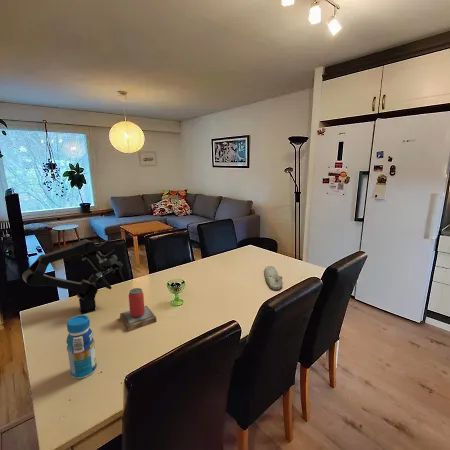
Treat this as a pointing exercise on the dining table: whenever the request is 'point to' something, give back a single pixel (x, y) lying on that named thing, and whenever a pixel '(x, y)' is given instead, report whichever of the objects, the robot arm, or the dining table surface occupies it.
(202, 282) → the dining table surface
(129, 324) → the walnut stand
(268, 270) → the long grey stone
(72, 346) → the beverage bottle
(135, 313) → the beer can
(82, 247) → the robot arm
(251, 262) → the dining table surface
